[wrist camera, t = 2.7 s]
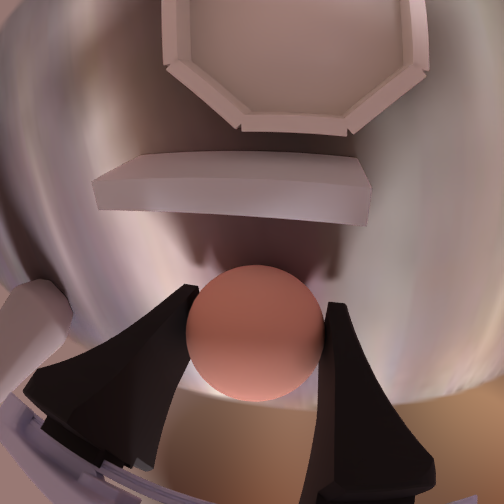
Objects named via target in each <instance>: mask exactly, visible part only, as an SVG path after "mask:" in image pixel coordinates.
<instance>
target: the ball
mask: <svg viewBox="0 0 504 504" xmlns="http://www.w3.org/2000/svg"><path fill="white" fill-rule="evenodd" d="M324 341H325V324H324V319H323V315H322V311H321V309H320V307H319V304H318V302H317V300H316V298H315V297H314V296H313V294H312V293H311V291H310V290H309V289H308V288H307V287H306V286H305V285H304V284H303V283H302V282H301V281H300V280H298V279H297V278H296V277H294V276H293V275H291V274H289V273H287V272H285V271H283V270H280V269H278V268H274V267H271V266H264V265H247V266H241V267H237V268H234V269H231V270H228V271H226V272H224V273H222V274H220V275H219V276H217V277H216V278H214V279H213V280H211V281H210V282H209V283H208V284H207V285H206V286H205V287H204V288H203V289H202V290H201V291H200V293H199V294H198V296H197V297H196V299H195V300H194V302H193V304H192V307H191V309H190V311H189V315H188V319H187V324H186V343H187V348H188V352H189V355H190V358H191V360H192V362H193V364H194V366H195V368H196V370H197V371H198V372H199V374H200V375H201V376H202V378H203V379H204V380H205V381H206V382H207V383H208V384H210V385H211V386H212V387H213V388H214V389H216V390H217V391H219V392H221V393H223V394H225V395H227V396H229V397H232V398H235V399H239V400H244V401H266V400H272V399H276V398H279V397H281V396H284V395H286V394H288V393H290V392H291V391H293V390H295V389H296V388H298V387H299V386H300V385H301V384H302V383H303V382H305V380H306V379H307V378H308V377H309V376H310V375H311V374H312V372H313V371H314V369H315V368H316V366H317V364H318V362H319V360H320V357H321V354H322V351H323V347H324Z"/></svg>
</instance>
